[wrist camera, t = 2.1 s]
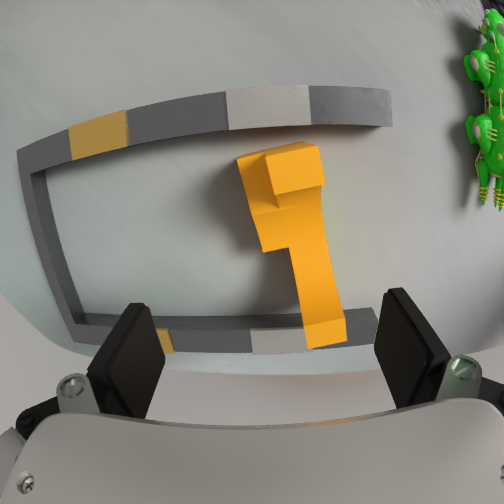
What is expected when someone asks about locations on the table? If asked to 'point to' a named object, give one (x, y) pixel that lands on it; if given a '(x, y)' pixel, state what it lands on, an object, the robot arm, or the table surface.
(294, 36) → the table surface
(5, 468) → the robot arm
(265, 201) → the pipe clamp
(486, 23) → the crocodile figurine
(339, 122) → the rail frame
